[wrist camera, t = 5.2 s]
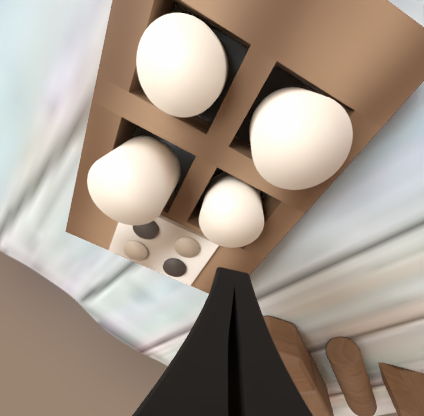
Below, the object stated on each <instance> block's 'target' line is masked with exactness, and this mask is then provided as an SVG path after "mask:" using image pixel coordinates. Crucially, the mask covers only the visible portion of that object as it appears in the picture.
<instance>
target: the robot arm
mask: <svg viewBox="0 0 424 416" xmlns="http://www.w3.org/2000/svg"><path fill="white" fill-rule="evenodd" d="M132 416H313V415H312V413H311V412H310V410H309V408H308V407H307V405H306V403H305V402H304V400H303V398H302V396H301V394H300V393H299V391H298V389H297V387H296V386H295V384H294V382H293V380H292V378H291V376H290V374H289V372H288V371H287V369H286V367H285V365H284V363H283V361H282V359H281V357H280V354H279V352H278V350H277V348H276V346H275V344H274V341H273V339H272V337H271V335H270V332H269V330H268V328H267V325H266V323H265V320H264V318H263V315H262V313H261V310H260V307H259V305H258V302H257V299H256V296H255V293H254V290H253V287H252V283H251V280H250V276H249V274H248V273H245V272H240V271H236V270H231V269H227V268H222V267H218V268H217V269H216V272H215V276H214V279H213V283H212V286H211V290H210V293H209V296H208V298H207V300H206V302H205V304H204V307H203V309H202V311H201V313H200V314H199V316H198V318H197V320H196V322H195V324H194V326H193V327H192V329H191V331H190V333H189V334H188V336H187V338H186V339H185V341H184V343H183V344H182V346H181V347H180V349H179V351H178V352H177V354H176V355H175V357H174V358H173V360H172V361H171V363H170V364H169V366H168V367H167V369H166V370H165V372H164V373H163V375H162V376H161V378H160V379H159V380H158V382H157V383H156V385H155V386H154V387H153V389H152V390H151V391H150V393H149V394H148V395H147V397H146V398H145V399H144V401H143V402H142V403H141V405H140V406H139V407H138V409H137V410H136V411H135V413H134V414H133V415H132Z"/></svg>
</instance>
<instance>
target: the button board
mask: <svg viewBox="0 0 424 416" xmlns="http://www.w3.org/2000/svg"><path fill="white" fill-rule="evenodd" d="M175 2H176V3H177V4H179V5H180V6H182V7H184V8H185V9H187V10H188V11H190V12H191V13H193V14H195V15H196V16H198V17H199V18H201V19H203V20H204V21H206V22H207V23H209V24H210V25H212V26H214V27H215V28H217V29H218V30H220V31H222V32H223V33H225V34H226V35H228V36H230V37H231V38H233V39H234V40H236V41H237V42H239V43H241V44H242V45H244V46H245V47H247V48H249V50H248V52H247V54H246V56H245V58H244V60H243V62H242V64H241V66H240V68H239V70H238V72H237V74H236V76H235V78H234V80H233V82H232V84H231V86H230V88H229V90H228V92H227V94H226V96H225V98H224V100H223V102H222V104H221V106H220V108H219V110H218V112H217V114H216V117H215V119H214V121H213V123H210V122H209V121H207V120H205V119H203V118H201V117H200V116H198V115H195V116H192V117H176V116H172V115H169V114H167V113H165V112H163V111H161V110H160V109H159V108H157V107H156V106H155V105H154V104H153V103H152V102H151V101H150V100H149V98H148V97H147V95H146V94H145V92H144V90H143V88H142V86H141V84H140V81H139V77H138V73H137V66H136V58H137V50H138V45H139V42H140V40H141V37H142V35H143V33H144V32H145V30H146V29H147V28H148V27H149V25H150V24H151V23H152V22H154V21H155V20H156V19H158V18H159V17H161V16H164V15H166V14H170V13H172V11H173V7H174V4H175ZM274 65H276V66H277V67H279V68H280V69H282V70H283V71H285V72H287V73H288V74H290V75H291V76H293V77H295V78H296V79H298V80H299V81H301V82H302V83H304V84H306V85H307V86H309V87H310V88H312V89H314V90H315V91H317V92H318V93H320V94H322V95H323V96H326V97H329V98H331V99H333V100H335V101H336V102H337V103H339V104H340V105H341V106H342V107H343V108H344V109H345V111H346V112H347V114H348V116H349V118H350V120H351V124H352V130H353V140H352V145H351V148H350V152H349V154H348V156H347V158H346V160H345V161H344V163H343V165H342V166H341V167H340V168H339V170H338V171H337V172H336V173H335V174H333V175H332V176H331V177H330V178H328V179H327V180H325V181H324V182H322V183H320V184H318V185H316V186H313V187H310V188H307V189H301V190H288V189H282V188H279V187H276V186H274V185H272V184H270V183H269V182H267V181H266V180H265V179H264V178H263V177H262V176H261V175H260V174H259V172H258V171H257V169H256V167H255V165H254V162H253V158H252V151H251V145H250V144H248V143H246V142H244V141H243V140H241V139H239V138H237V137H235V135H236V133H237V131H238V129H239V127H240V126H241V124H242V122H243V120H244V119H245V117H246V115H247V113H248V111H249V110H250V108H251V106H252V104H253V102H254V101H255V99H256V97H257V95H258V94H259V92H260V90H261V88H262V86H263V85H264V83H265V81H266V79H267V78H268V76H269V74H270V72H271V70H272V69H273V67H274ZM423 81H424V27H423V26H421V25H420V24H419V23H417V22H416V21H415V20H413V19H412V18H410V17H409V16H408V15H406V14H405V13H404V12H402V11H401V10H400V9H398V8H397V7H396V6H394V5H393V4H392V3H390V2H389V1H388V0H113V1H112V6H111V11H110V16H109V21H108V26H107V31H106V36H105V40H104V45H103V50H102V55H101V60H100V65H99V70H98V75H97V80H96V85H95V90H94V95H93V100H92V104H91V109H90V114H89V119H88V124H87V129H86V134H85V139H84V144H83V149H82V154H81V159H80V164H79V169H78V173H77V178H76V183H75V188H74V193H73V198H72V203H71V208H70V213H69V218H68V223H67V228H66V232H68V233H70V234H72V235H75V236H77V237H79V238H82V239H84V240H86V241H89V242H91V243H93V244H96V245H98V246H100V247H103V248H105V249H107V250H108V251H111V252H113V253H115V254H118V255H120V256H122V257H124V258H127V259H129V260H131V261H134V262H136V263H138V264H141V265H143V266H145V267H148V268H150V269H152V270H155V271H157V272H159V273H162V274H164V275H166V276H168V277H171V278H173V279H175V280H178V281H180V282H182V283H185V284H187V285H189V286H193V287H195V288H197V289H200V290H202V291H204V292H207V293H210V290H211V286H212V283H213V279H214V276H215V272H216V269H217V268H218V267H222V268H227V269H231V270H236V271H240V272H245V273H248V274H249V275H250V274H251V273H252V272H253V271H254V270H255V268H256V267H257V266H258V265H259V264H260V263H261V262H262V261H263V259H264V258H265V257H266V256H267V255H268V254H269V253H270V252H271V251H272V249H273V248H274V247H275V246H276V245H277V244H278V243H279V242H280V241H281V239H282V238H283V237H284V236H285V235H286V234H287V233H288V232H289V230H290V229H291V228H292V227H293V226H294V225H295V224H296V223H297V222H298V220H299V219H300V218H301V217H302V216H303V215H304V214H305V213H306V212H307V210H308V209H309V208H310V207H311V206H312V205H313V204H314V203H315V201H316V200H317V199H318V198H319V197H320V196H321V195H322V194H323V193H324V191H325V190H326V189H327V188H328V187H329V186H330V185H331V184H332V182H333V181H334V180H335V179H336V178H337V177H338V176H339V175H340V174H341V172H342V171H343V170H344V169H345V168H346V167H347V166H348V165H349V164H350V162H351V161H352V160H353V159H354V158H355V157H356V156H357V155H358V153H359V152H360V151H361V150H362V149H363V148H364V147H365V146H366V145H367V143H368V142H369V141H370V140H371V139H372V138H373V137H374V136H375V134H376V133H377V132H378V131H379V130H380V129H381V128H382V127H383V126H384V124H385V123H386V122H387V121H388V120H389V119H390V118H391V117H392V116H393V114H394V113H395V112H396V111H397V110H398V109H399V108H400V107H401V105H402V104H403V103H404V102H405V101H406V100H407V99H408V98H409V97H410V95H411V94H412V93H413V92H414V91H415V90H416V89H417V88H418V87H419V85H420V84H421V83H422V82H423ZM136 125H138V126H140V127H142V128H144V129H146V130H147V131H149V132H151V133H153V134H155V135H157V136H159V137H161V138H163V139H164V140H166V141H168V142H170V143H172V144H174V145H176V146H178V147H180V148H181V149H183V150H185V151H187V152H189V153H191V154H193V155H195V156H196V157H195V159H194V161H193V163H192V165H191V167H190V169H189V171H188V173H187V175H186V177H185V179H184V181H183V183H182V186H181V188H180V190H179V192H178V193H177V192H175V191H173V192H172V194H171V196H170V197H169V199H168V201H167V203H166V205H165V206H164V208H163V210H162V212H161V214H160V215H159V216H158V217H157V218H156V219H155V220H153V221H152V222H150V223H148V224H144V225H127V224H123V223H120V222H117V221H115V220H113V219H111V218H110V217H108V216H107V215H105V214H104V213H103V212H102V211H101V210H100V209H99V208H98V207H97V206H96V204H95V203H94V201H93V200H92V198H91V196H90V193H89V190H88V185H87V178H88V173H89V170H90V168H91V167H92V165H93V164H94V163H95V162H96V161H97V160H99V159H100V158H102V157H103V156H105V155H106V154H108V153H109V152H111V151H113V150H114V149H116V148H117V147H119V146H120V145H122V144H123V143H125V142H127V141H128V140H130V139H131V138H132V137H133V134H134V130H135V127H136ZM216 168H219V169H221V170H223V171H225V172H227V173H229V174H231V175H233V176H235V177H236V178H238V179H240V180H242V181H244V182H246V183H248V184H250V185H252V186H253V187H255V188H257V189H259V190H261V191H263V192H265V193H267V195H266V196H265V197H264V199H263V200H262V208H263V215H264V227H263V230H262V232H261V234H260V235H259V237H258V238H257V239H256V240H255V241H253V242H252V243H250V244H248V245H246V246H242V247H237V248H228V247H223V246H219V245H217V244H215V243H213V242H211V241H210V240H209V239H208V238H207V237H206V236H205V235H204V234H203V232H202V231H201V228H200V225H199V215H200V211H201V208H202V205H201V204H199V203H197V202H198V200H199V199H200V197H201V195H202V193H203V192H204V190H205V188H206V186H207V184H208V183H209V181H210V179H211V177H212V175H213V174H214V172H215V170H216Z"/></svg>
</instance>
